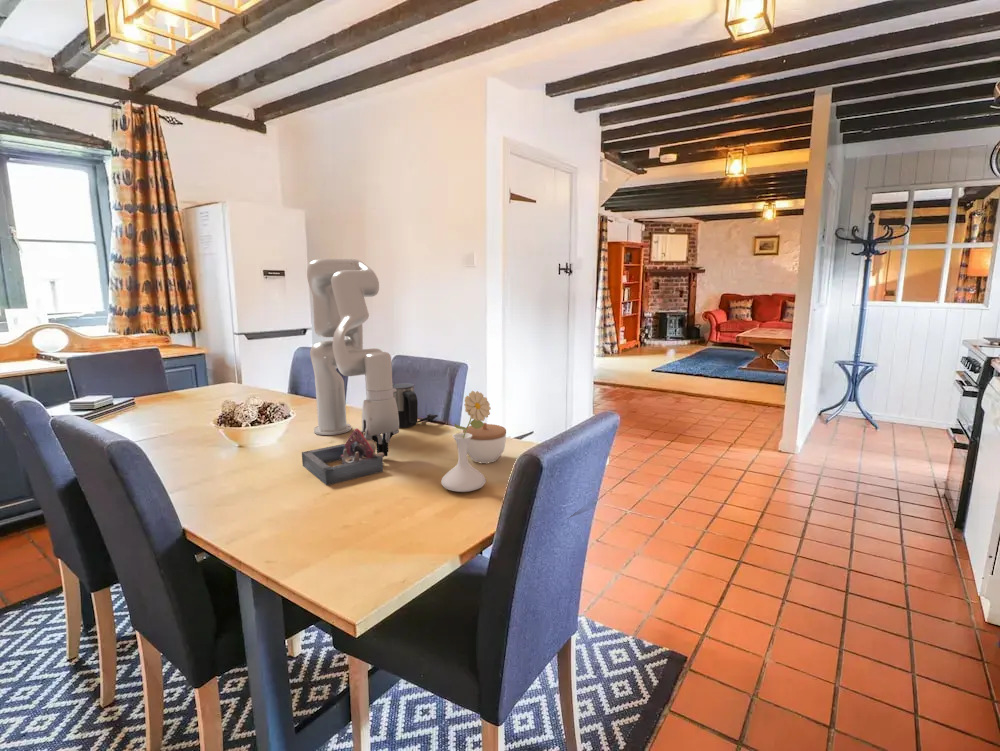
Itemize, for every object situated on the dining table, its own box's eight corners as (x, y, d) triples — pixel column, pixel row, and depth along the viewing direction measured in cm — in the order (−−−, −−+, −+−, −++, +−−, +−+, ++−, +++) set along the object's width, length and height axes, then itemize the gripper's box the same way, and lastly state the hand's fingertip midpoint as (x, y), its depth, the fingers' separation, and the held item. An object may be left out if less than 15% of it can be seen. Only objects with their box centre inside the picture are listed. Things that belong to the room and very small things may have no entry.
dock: (302, 465, 155) (301, 452, 154) (355, 454, 164) (355, 441, 164) (326, 485, 140) (325, 470, 139) (383, 471, 150) (382, 457, 149)
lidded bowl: (454, 460, 159) (453, 423, 157) (484, 449, 168) (484, 415, 166) (485, 470, 150) (484, 432, 148) (515, 458, 159) (515, 422, 157)
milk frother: (384, 426, 195) (382, 385, 193) (415, 416, 208) (413, 378, 205) (413, 432, 187) (411, 390, 185) (443, 422, 200) (442, 382, 197)
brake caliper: (326, 461, 151) (344, 422, 155) (351, 474, 159) (368, 436, 164) (355, 468, 145) (373, 428, 149) (379, 481, 153) (396, 442, 158)
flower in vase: (449, 499, 131) (446, 399, 126) (435, 483, 141) (432, 389, 136) (498, 490, 136) (497, 393, 131) (482, 475, 146) (480, 385, 142)
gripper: (396, 389, 163) (399, 447, 167) (349, 396, 154) (353, 457, 157) (408, 393, 157) (411, 453, 161) (360, 400, 148) (364, 464, 152)
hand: (382, 455), depth 159 cm, fingers closed
